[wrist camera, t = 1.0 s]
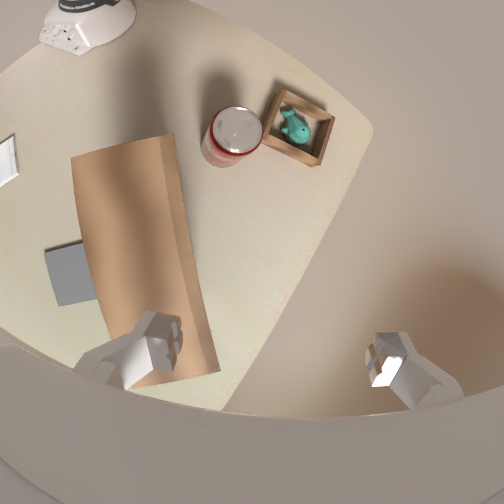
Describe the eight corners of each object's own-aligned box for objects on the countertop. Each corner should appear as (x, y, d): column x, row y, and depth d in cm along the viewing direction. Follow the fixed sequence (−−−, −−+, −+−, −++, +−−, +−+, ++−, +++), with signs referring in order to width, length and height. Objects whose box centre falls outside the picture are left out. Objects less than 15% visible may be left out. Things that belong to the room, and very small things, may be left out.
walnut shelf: (147, 307, 45) (132, 388, 22) (120, 182, 40) (70, 158, 18) (197, 297, 47) (220, 371, 25) (173, 171, 42) (173, 133, 20)
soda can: (210, 174, 44) (223, 163, 33) (194, 136, 42) (201, 113, 31) (248, 159, 46) (272, 145, 34) (233, 122, 44) (252, 98, 32)
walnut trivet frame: (256, 140, 45) (262, 136, 42) (275, 94, 45) (282, 88, 42) (311, 167, 49) (320, 164, 46) (326, 121, 49) (335, 117, 45)
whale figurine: (285, 149, 47) (294, 145, 44) (271, 114, 46) (278, 107, 42) (311, 142, 49) (321, 137, 45) (297, 108, 47) (306, 101, 43)
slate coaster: (59, 305, 40) (58, 306, 39) (45, 252, 38) (43, 253, 37) (105, 296, 42) (104, 297, 42) (90, 240, 40) (89, 241, 40)
